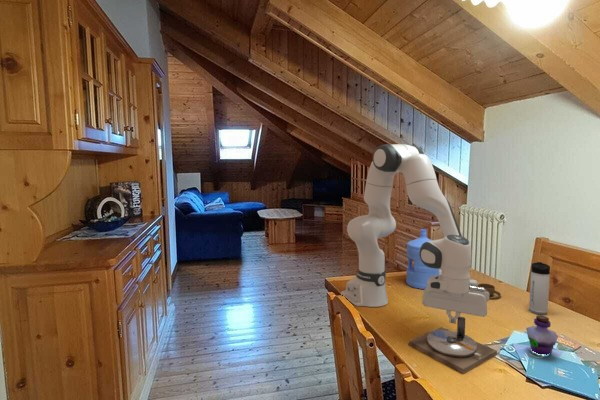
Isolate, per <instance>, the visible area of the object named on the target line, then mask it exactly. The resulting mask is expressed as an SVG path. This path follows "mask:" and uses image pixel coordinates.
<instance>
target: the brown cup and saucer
mask: <svg viewBox="0 0 600 400" xmlns="http://www.w3.org/2000/svg"><path fill="white" fill-rule="evenodd" d="M477 287H478V288H485V290H487V291H488V292H489V294H490V296H489V300H491V301H493V300H495V301H496V300H499V299H501V296H502V294H501V292H500V291H497V290H496V287H495V286H494V285H492V284H490V283H478V286H477ZM493 295H496V296H493ZM489 300H488V301H489Z"/></svg>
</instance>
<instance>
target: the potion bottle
mask: <svg viewBox="0 0 600 400" xmlns="http://www.w3.org/2000/svg"><path fill="white" fill-rule="evenodd" d="M533 323H534V325H535V326H534V325H531V326H528V327H525V330H526V333H527V334H526V335H527V339H528V340H529V345H530V349H532V351H534V352H536V353H538V354H546V355H547V354H549V353H551V354H552V353H553V349H554V346H556V344H557V340H558V338H559V336H558V334H557V333H556V331H554V330H551V329H549V328H550V327H551V324H552V323H551V322H550V318H549V317H548V316H546V315H537V314H536V316H535V318H534V319H533Z"/></svg>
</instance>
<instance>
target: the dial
mask: <svg viewBox="0 0 600 400" xmlns="http://www.w3.org/2000/svg"><path fill="white" fill-rule="evenodd" d="M456 325H457V326H456V327H457V328H456V330H455V331H453V330H450V329H448V330H438V331H433V330H432V331H433V332H431V331H430V332H431V333H429V334H428V336H427V343H428V345H429V346H430V347H431V348H432V349H433V350H435V351H436V352H438V353H441V354H444V355H447V356H451V357H469V356H472V355H474V354H475V353H476V352H477V343H476V342H477V341H476V342H475V340H474V339H473V338H472V337H471V336H468V335H467V334H466V318H465V317H464V316H459V317H458V318H457V319H456ZM449 330H450V331H449Z"/></svg>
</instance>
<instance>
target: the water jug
mask: <svg viewBox="0 0 600 400" xmlns="http://www.w3.org/2000/svg"><path fill="white" fill-rule="evenodd" d="M419 230H420V231H419V232H420V233H419V237H417V238H415V239H413V240H410V241H408V242H406V243H407V244H406V257H407V268H406V279H405V282H406V284H407V285H408V286H409V287H410V288H411V287H412V288H414V289H418V288H419V290H420V289H421V290H425V288H426V286H427V281H428V279H429V277H431V276H438V275H440V269H436V268H429V267H427V266H425V265H424V264H423V263H422V261H421V259H420V248H421V246H422V244H423V243H425V242H428V241H433V240H432V239H430V238H428V237H427V235H428V232H427V229H426V228H420V229H419ZM413 263H414V264H413ZM412 264H413V266H412Z"/></svg>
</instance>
